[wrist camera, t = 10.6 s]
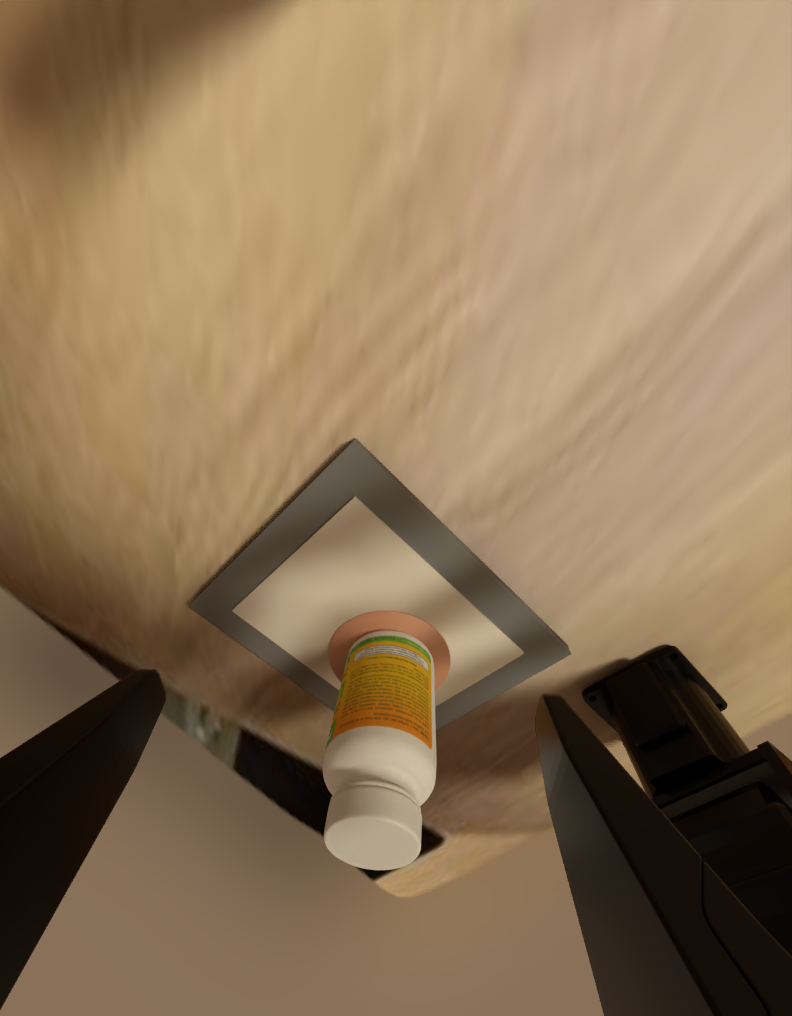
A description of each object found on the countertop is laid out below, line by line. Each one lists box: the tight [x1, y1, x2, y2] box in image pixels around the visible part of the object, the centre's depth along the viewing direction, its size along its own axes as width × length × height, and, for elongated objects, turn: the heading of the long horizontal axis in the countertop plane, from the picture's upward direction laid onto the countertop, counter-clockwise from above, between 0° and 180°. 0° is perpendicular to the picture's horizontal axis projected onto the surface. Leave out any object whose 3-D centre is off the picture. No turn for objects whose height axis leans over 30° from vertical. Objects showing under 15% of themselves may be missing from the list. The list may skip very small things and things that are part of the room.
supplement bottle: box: [323, 630, 437, 870], centre depth 21 cm, size 5×5×10 cm
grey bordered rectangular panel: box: [188, 438, 571, 731], centre depth 25 cm, size 18×15×1 cm
